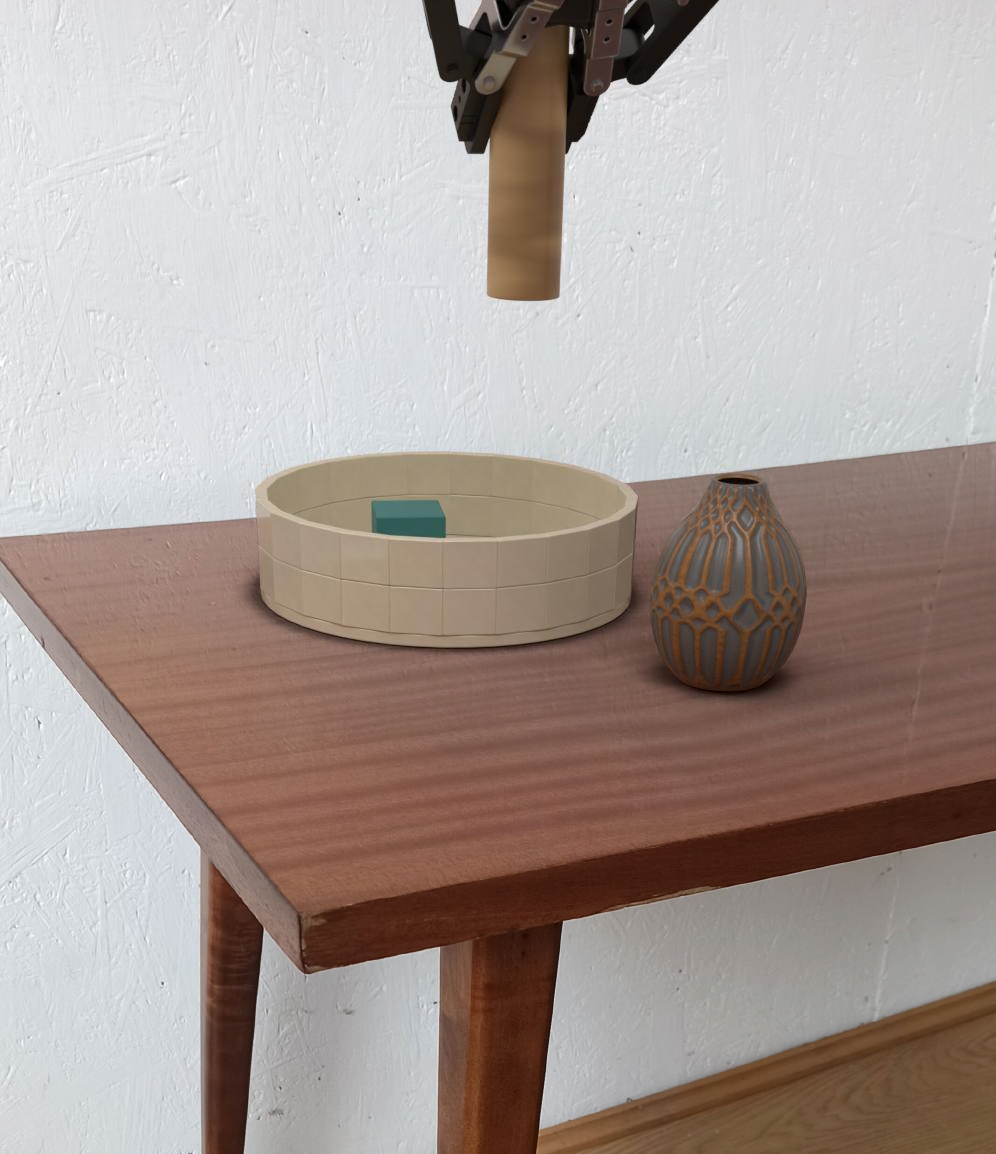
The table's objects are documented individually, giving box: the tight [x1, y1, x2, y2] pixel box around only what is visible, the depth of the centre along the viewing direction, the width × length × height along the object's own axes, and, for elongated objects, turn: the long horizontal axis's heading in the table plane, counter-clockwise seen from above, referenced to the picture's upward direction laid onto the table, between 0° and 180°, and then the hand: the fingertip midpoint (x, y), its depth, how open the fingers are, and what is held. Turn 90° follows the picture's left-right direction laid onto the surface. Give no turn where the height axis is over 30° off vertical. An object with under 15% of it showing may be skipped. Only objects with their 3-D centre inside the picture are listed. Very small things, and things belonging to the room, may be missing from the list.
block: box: [371, 500, 446, 538], centre depth 88 cm, size 4×4×4 cm
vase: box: [649, 473, 808, 692], centre depth 76 cm, size 7×7×9 cm
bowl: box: [254, 450, 639, 649], centre depth 88 cm, size 19×19×5 cm
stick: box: [486, 25, 571, 302], centre depth 76 cm, size 3×3×14 cm
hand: (512, 136), depth 78 cm, fingers closed on stick, 3 cm apart
